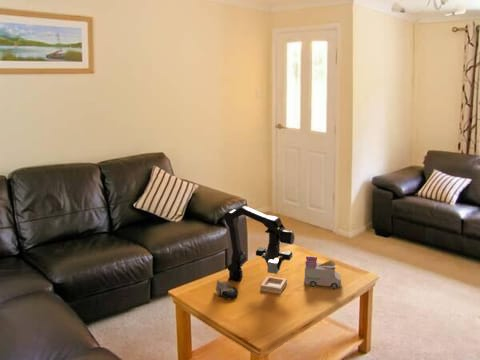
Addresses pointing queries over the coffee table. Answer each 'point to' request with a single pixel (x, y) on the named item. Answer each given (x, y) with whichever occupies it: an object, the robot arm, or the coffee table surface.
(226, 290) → the caster wheel
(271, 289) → the square tray
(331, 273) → the toy vehicle
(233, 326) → the coffee table surface
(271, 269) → the grey metal box
